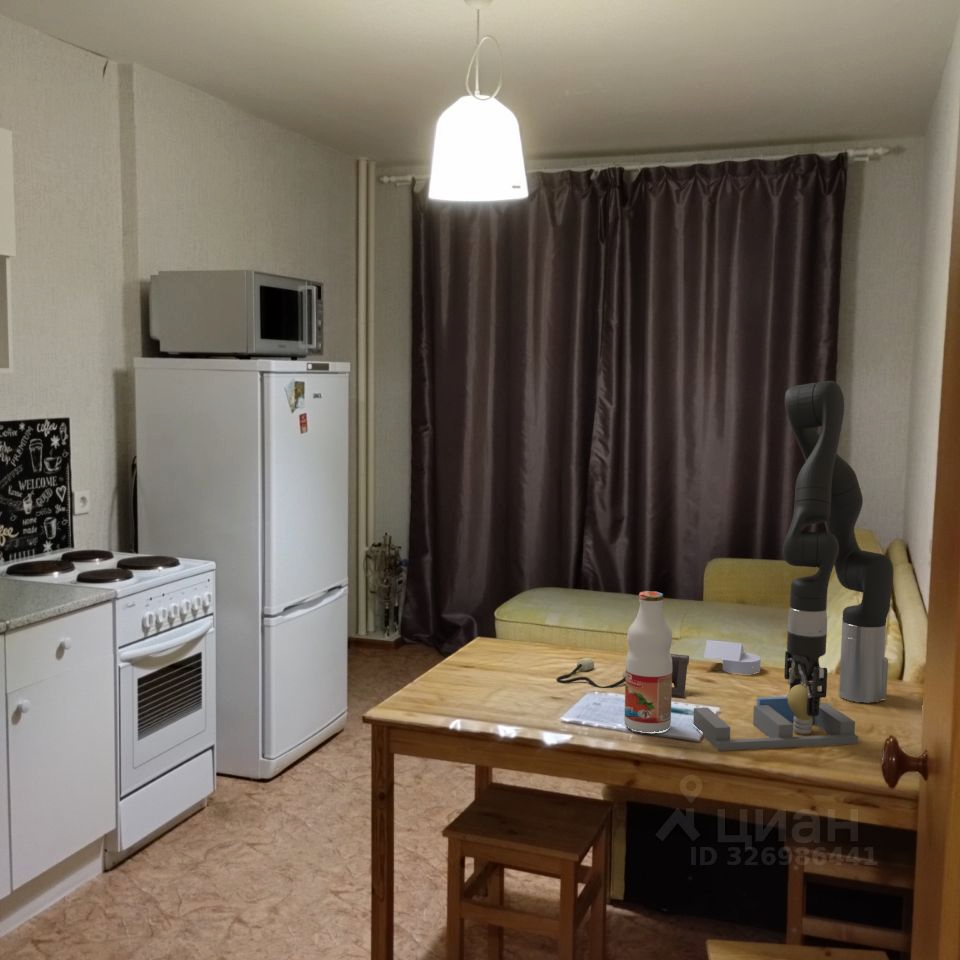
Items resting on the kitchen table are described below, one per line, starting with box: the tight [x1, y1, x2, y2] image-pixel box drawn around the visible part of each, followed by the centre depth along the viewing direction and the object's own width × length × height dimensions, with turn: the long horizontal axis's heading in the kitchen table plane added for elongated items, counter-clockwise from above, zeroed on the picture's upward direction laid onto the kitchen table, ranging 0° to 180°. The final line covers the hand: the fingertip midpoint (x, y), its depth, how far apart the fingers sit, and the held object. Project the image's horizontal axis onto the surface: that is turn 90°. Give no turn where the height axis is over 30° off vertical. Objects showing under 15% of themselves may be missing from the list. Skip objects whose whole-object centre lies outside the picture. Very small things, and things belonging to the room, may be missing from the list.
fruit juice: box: [623, 590, 673, 732], centre depth 214 cm, size 9×9×28 cm
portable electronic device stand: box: [670, 653, 690, 698], centre depth 239 cm, size 9×8×8 cm
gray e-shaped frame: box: [692, 696, 859, 752], centre depth 212 cm, size 29×15×5 cm, turn 99°
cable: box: [555, 657, 626, 689], centre depth 248 cm, size 16×16×4 cm
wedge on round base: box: [703, 639, 762, 674], centre depth 258 cm, size 9×7×13 cm
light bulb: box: [787, 683, 822, 735], centre depth 213 cm, size 6×6×10 cm
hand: (803, 709), depth 213 cm, fingers open, 7 cm apart
